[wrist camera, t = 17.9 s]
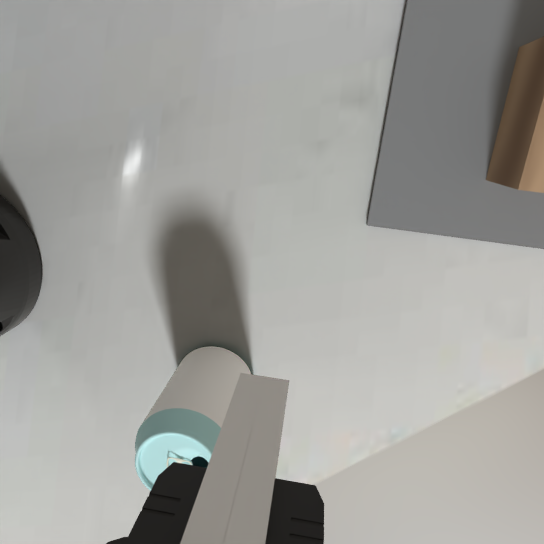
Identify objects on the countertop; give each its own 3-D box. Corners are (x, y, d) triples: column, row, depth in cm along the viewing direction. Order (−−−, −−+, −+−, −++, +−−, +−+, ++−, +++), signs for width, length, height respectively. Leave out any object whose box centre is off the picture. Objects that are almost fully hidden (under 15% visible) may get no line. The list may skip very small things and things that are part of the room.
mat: (366, 223, 36) (367, 225, 36) (413, -37, 31) (414, -40, 30) (656, 262, 35) (661, 264, 34) (759, -5, 29) (767, -8, 29)
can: (221, 328, 41) (181, 405, 29) (269, 387, 42) (248, 483, 30) (164, 368, 42) (104, 455, 31) (211, 423, 44) (170, 526, 32)
